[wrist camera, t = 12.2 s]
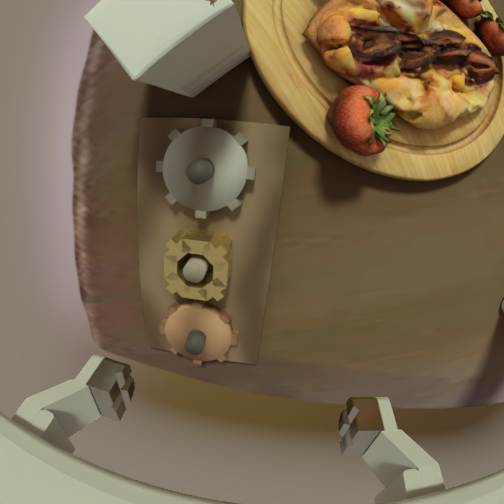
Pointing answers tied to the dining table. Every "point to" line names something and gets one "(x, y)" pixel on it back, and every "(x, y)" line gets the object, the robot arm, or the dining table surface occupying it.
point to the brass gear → (212, 250)
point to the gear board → (209, 217)
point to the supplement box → (172, 40)
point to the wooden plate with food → (386, 79)
